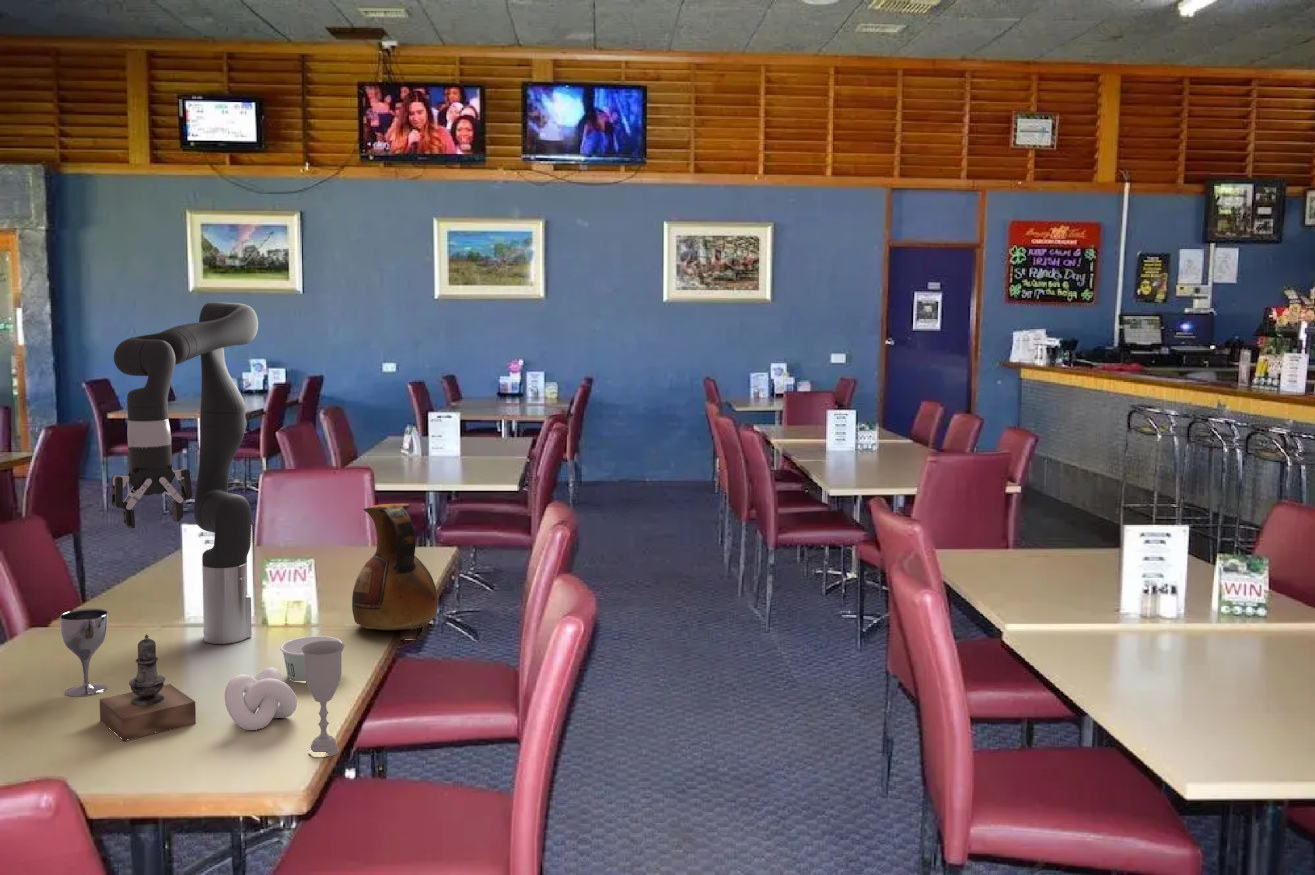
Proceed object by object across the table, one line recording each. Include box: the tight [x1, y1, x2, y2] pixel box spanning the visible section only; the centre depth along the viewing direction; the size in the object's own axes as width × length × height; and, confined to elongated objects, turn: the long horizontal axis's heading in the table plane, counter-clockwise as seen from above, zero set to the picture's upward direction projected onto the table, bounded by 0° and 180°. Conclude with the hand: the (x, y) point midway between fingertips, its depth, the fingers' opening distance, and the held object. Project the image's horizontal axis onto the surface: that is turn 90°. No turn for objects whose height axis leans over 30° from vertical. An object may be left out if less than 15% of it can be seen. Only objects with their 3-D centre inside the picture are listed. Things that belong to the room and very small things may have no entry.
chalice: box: [301, 641, 345, 758], centre depth 170 cm, size 7×7×18 cm
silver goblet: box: [59, 608, 109, 698], centre depth 195 cm, size 8×8×15 cm
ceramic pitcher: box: [351, 503, 439, 631], centre depth 240 cm, size 20×20×30 cm
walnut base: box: [99, 683, 197, 741], centre depth 181 cm, size 12×12×4 cm
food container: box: [279, 635, 343, 681], centre depth 207 cm, size 12×12×6 cm
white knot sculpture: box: [224, 666, 298, 731], centre depth 182 cm, size 11×12×9 cm
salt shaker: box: [128, 633, 166, 706], centre depth 180 cm, size 6×6×12 cm
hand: (154, 524), depth 199 cm, fingers open, 8 cm apart
